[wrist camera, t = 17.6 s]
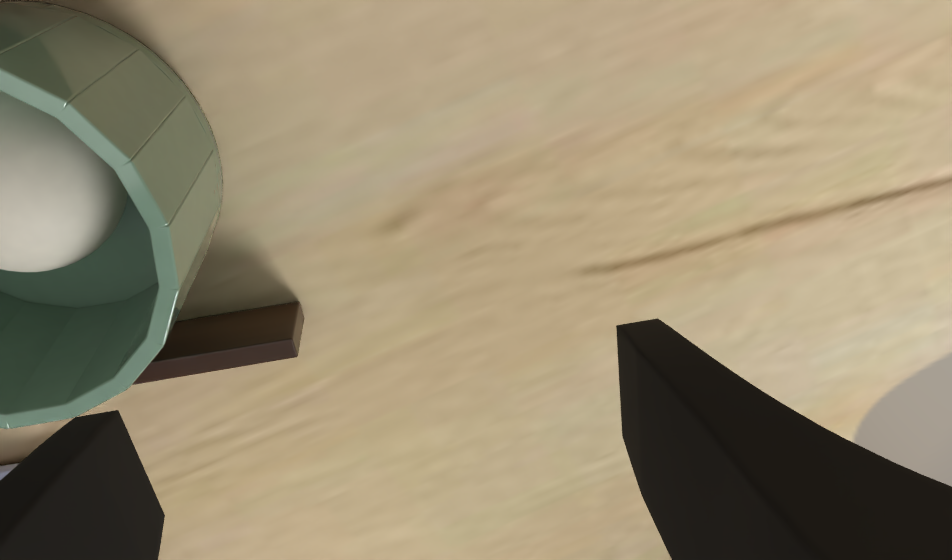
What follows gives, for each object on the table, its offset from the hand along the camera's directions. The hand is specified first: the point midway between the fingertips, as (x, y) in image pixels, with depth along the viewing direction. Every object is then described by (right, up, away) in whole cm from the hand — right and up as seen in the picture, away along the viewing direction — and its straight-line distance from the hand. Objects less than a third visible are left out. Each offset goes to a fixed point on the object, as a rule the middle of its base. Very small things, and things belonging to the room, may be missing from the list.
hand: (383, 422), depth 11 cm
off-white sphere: (-8, +4, +6) cm, 11 cm away
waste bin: (-9, +5, +8) cm, 13 cm away
